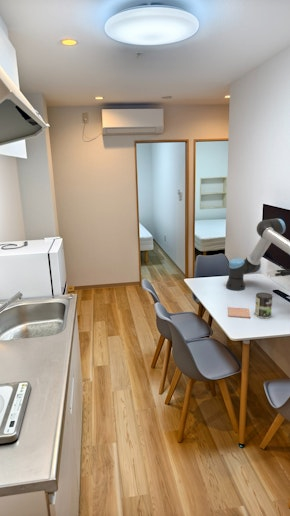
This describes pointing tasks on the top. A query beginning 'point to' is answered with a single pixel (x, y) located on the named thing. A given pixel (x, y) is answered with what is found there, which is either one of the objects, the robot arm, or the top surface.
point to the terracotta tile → (238, 312)
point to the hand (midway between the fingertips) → (268, 274)
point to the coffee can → (263, 305)
